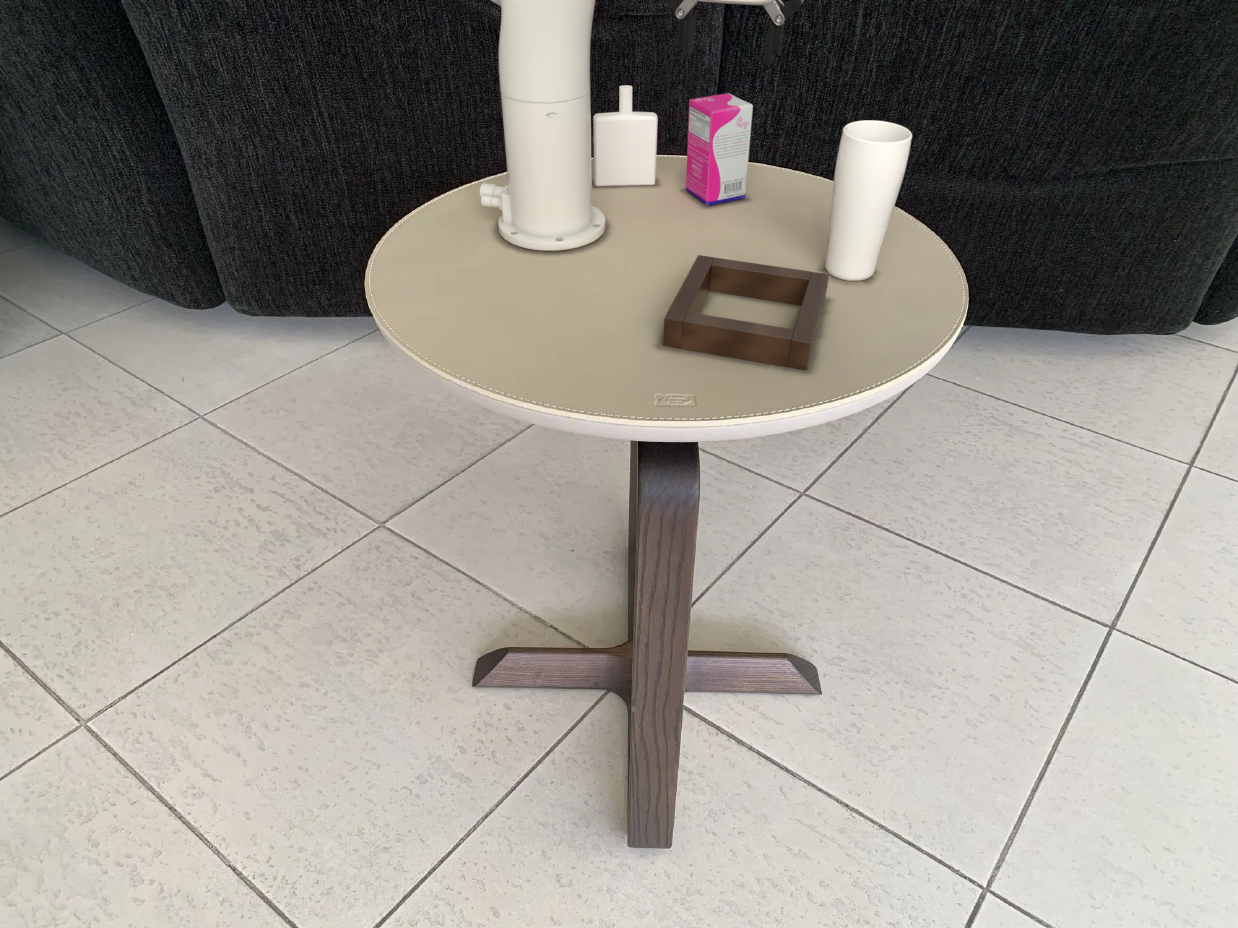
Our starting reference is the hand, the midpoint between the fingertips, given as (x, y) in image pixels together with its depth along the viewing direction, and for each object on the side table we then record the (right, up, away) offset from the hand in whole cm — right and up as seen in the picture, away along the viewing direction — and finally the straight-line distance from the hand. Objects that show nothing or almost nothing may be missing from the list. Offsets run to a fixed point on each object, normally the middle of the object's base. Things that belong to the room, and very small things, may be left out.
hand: (728, 57), depth 96 cm
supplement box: (0, -13, +10) cm, 16 cm away
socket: (0, -33, -14) cm, 36 cm away
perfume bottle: (-12, -10, +13) cm, 20 cm away
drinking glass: (+12, -26, -5) cm, 29 cm away
